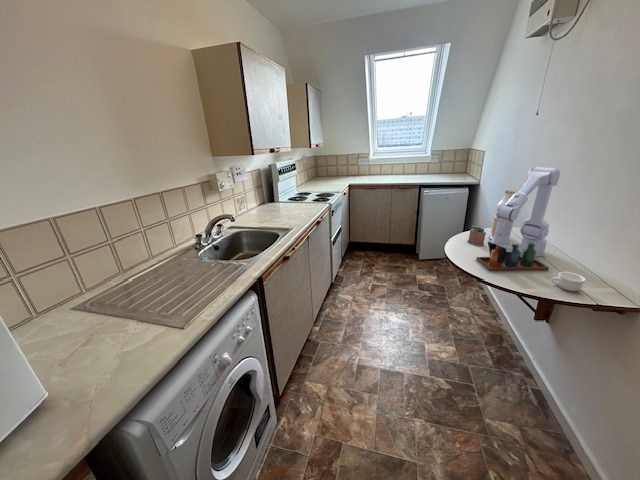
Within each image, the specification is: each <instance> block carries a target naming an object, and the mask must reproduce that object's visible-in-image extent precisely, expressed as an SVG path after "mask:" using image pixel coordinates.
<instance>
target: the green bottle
mask: <svg viewBox="0 0 640 480" xmlns="http://www.w3.org/2000/svg"><path fill="white" fill-rule="evenodd" d="M534 247H535V244H533V243H529V244H528V247H527V248H525V249H523V252H522V254H520V256H521V259H520V263H519V264H520V265H522V266H525V267H532V266H533V263H534V260H535V259H536V257H537V256H536V253H537V252H536V251H535V249H534Z"/></svg>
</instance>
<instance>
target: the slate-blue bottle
mask: <svg viewBox="0 0 640 480" xmlns="http://www.w3.org/2000/svg"><path fill="white" fill-rule="evenodd" d="M519 246H520V244H518V243H515V242H514V243H512V245H511V247H512V248H513V250H512V252H511V253H510V254H509V255H508V256H507V257H506V259H505V262H504V265H506V266H508V267H517V264H518V260H519V257H520V256H521V252H520V251H519V249H520V247H519Z"/></svg>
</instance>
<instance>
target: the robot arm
mask: <svg viewBox="0 0 640 480" xmlns="http://www.w3.org/2000/svg"><path fill="white" fill-rule="evenodd" d="M560 175H561V171H560V169H559V168H558V167H545V166H544V167H543V166H532V167H530V168H529V170H528V172H527V176H526V181H525V182H524V184H523V185H522V187H521V188H520V189H519V191H516V193H514V195H513V196H512V197H511V198H510V199H509V200H508V202H507V203H506V204H505V205H503V206H500V207H499V208H498V210H497V209H496V212H495V213H496V216H497V219H496V220H497V226H496V230H495V235H494V236H490V235H489V237H488V240H489V241H487V246H488V249H489V257H490V256H491V252H492V250H494V248H496V245H499V246H501V247H502V248H497V251H498V259H497V262H498V263H503V262H504V260H505V259H506V257H507V256H508V255H509V254H510V253H511V252H512V250H513V248H512V245H511V244H510V243H509V242H510V237H511V234H512V230H513V227H514V226H513V225H514V222H515V221H516V220H517V219H518V217H519V214H520V213H521V209H522V208H523V207H524V205H525V204H526V203H527V202H528V200H529V198H528V197H529V195H530V194H531V193H532V192H533V191H534V190H535V189H536V188H537V190H536V195H535V199H534V202H533V206H532V210H531V213H530V217H529V218H526V219H524V220H523V222H522V224H521V226H520V229H519V232H520V234H521V237H522V239H521V243H520V245H519V246H520V247H519V248H518V249H519V251H520V252H521V253H520V255H522V252H523V249H525V248H527V247H528V244H529V243H533V244H535V247H534V249H535V251H536V252H537V253H536V256H535V257H545V255H544V253H545V251H546V247H547V240H546V238H547V236H548V234H549V231H550V230H549V229H550V228H549V227H550V223H548V221H547V220H545V216H546V215H545V214H546V211H547V207H548V203H549V201H550V197H551V193H552V189H553V187H555V186H557V185H558V183H559V180H560Z"/></svg>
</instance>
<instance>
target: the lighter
mask: <svg viewBox="0 0 640 480" xmlns="http://www.w3.org/2000/svg"><path fill="white" fill-rule="evenodd" d="M486 235H487V232H486V231H485V228H484V227H482V226H478V225H477V226H476V225H472V226H471V228H470V229H469V236H468V240H467V243H469V244H471V245H475V246H480V247H483V246H484V244H485V238H486Z"/></svg>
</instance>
